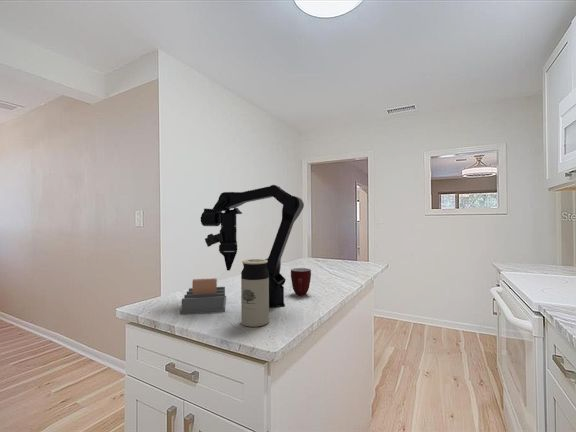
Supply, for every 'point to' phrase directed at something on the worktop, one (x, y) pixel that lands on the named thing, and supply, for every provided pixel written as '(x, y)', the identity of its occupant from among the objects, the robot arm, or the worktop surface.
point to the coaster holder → (204, 302)
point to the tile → (204, 286)
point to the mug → (300, 280)
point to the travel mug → (254, 293)
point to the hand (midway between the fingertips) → (228, 268)
